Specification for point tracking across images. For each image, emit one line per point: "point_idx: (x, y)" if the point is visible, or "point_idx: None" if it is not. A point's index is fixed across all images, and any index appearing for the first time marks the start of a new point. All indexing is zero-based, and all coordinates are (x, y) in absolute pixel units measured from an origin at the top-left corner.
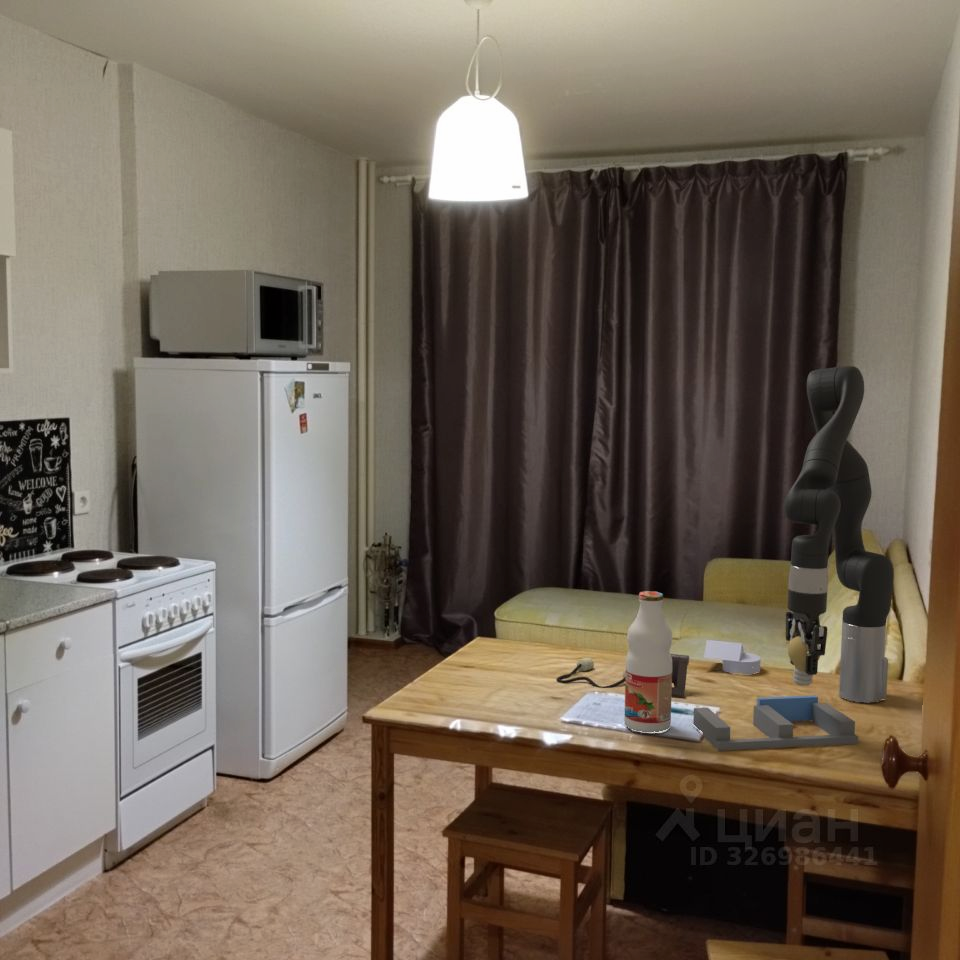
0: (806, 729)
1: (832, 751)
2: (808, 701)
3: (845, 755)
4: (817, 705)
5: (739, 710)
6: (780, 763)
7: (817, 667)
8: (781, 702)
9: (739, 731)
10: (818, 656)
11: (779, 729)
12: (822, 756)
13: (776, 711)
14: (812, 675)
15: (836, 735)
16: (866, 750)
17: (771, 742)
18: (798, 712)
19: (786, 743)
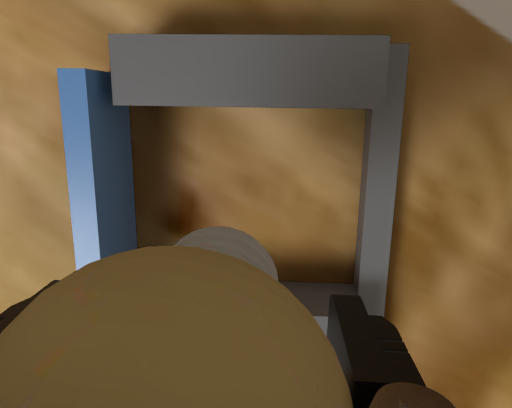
0: (220, 166)
1: (447, 184)
2: (97, 119)
3: (495, 157)
4: (148, 100)
5: (11, 304)
6: (498, 391)
7: (367, 317)
8: (107, 246)
9: None
10: (321, 330)
11: None
12: (481, 241)
13: (121, 251)
14: (247, 253)
15: (378, 129)
16: (471, 50)
17: None
18: (120, 160)
19: None
